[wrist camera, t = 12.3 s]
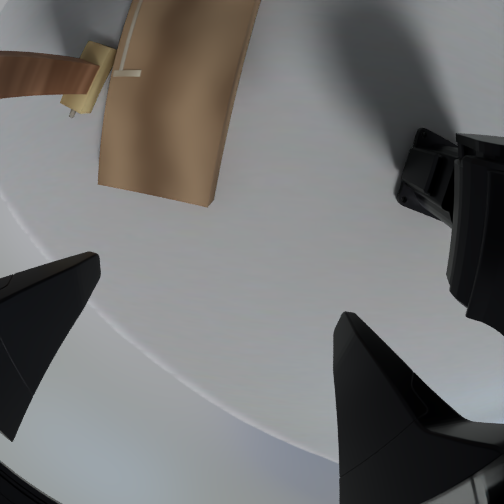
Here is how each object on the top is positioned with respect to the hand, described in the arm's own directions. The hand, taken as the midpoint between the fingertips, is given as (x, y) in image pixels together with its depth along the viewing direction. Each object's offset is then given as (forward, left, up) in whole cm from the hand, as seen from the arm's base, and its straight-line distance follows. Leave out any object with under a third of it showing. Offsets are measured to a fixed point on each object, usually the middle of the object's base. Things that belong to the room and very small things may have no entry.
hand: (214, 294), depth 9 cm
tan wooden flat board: (+8, -10, -13) cm, 18 cm away
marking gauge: (+16, -8, -13) cm, 22 cm away
